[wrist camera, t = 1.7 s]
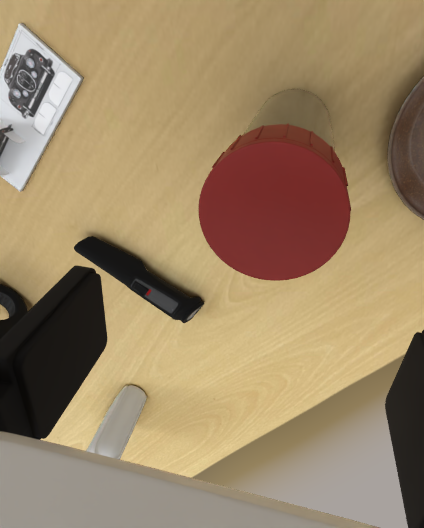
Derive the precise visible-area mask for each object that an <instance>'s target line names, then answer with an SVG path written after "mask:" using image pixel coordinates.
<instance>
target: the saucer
mask: <svg viewBox="0 0 424 528" xmlns="http://www.w3.org/2000/svg"><path fill="white" fill-rule="evenodd" d="M388 169H389V174H390V178H391V181H392V184H393V186H394V189H395V191H396V193H397V194H398V196H399V197H400V199H401V200H402V202H403V203H404V204H405V205H406V206H407V207H408V208H409V209H410V210H411V211H412V212H413V213H415V214H416V215H417V216H419V217H420V218H422V219H423V220H424V76H423V78H422V79H421V80H420V81H419V82H418V83H417V84H416V86H415V87H414V88H413V90H412V91H411V92H410V94H409V95H408V97H407V98H406V100H405V101H404V103H403V105H402V107H401V108H400V110H399V112H398V115H397V117H396V119H395V122H394V124H393V127H392V131H391V134H390V139H389V145H388Z"/></svg>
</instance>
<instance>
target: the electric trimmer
mask: <svg viewBox="0 0 424 528" xmlns="http://www.w3.org/2000/svg"><path fill="white" fill-rule="evenodd" d="M74 250H75V251H76V252H78V253H79V254H81V255H82V256H84V257H85V258H87V259H88V260H90V261H91V262H93V263H94V264H95V265H97V266H98V267H100V268H101V269H103V270H104V271H106V272H107V273H109V274H110V275H112V276H113V277H115V278H116V279H118V280H119V281H121V282H122V283H123V284H125V285H126V286H127V287H128V288H130V289H131V290H132V291H134V292H135V293H137V294H138V295H139V296H141V297H142V298H144V299H145V300H147V301H148V302H150V303H151V304H152V305H154V306H155V307H157V308H158V309H160V310H161V311H163V312H164V313H166V314H167V315H169V316H170V317H172V318H173V319H175V320H181V321H182V322H183V323H186V322H188V321H189V320H191V319H192V318H193V317H194V315H195V314H196V313H197V312H198V311H199V309H200V308H201V307H202V306H203V305H204V303H203V302H202V301H201V298H200V297H193V298H190V297H189V296H187V295H185V294H184V293H182V292H181V291H179V290H178V289H176V288H174V287H173V286H171V285H170V284H168V283H166V282H165V281H163V280H162V279H160V278H158V277H157V276H155V275H154V274H152V273H151V272H149V271H147V270H146V268H145V266H144V264H143V262H142V261H141V260H139V259H137V258H135V257H133V256H131V255H129V254H128V253H126V252H124V251H122V250H120V249H118V248H116V247H114V246H112V245H110V244H108V243H106V242H104V241H102V240H100V239H98V238H96V237H93V236H92V237H88V238H86V239H84V240H82V241H80V242H78V243H77V244H76V245H75V247H74Z"/></svg>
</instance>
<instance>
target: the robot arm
mask: <svg viewBox="0 0 424 528" xmlns="http://www.w3.org/2000/svg"><path fill="white" fill-rule="evenodd" d="M106 344H107V331H106V322H105V313H104V304H103V294H102V285H101V277H100V275H99V274H96V271H95V269H93V268H88V267H82V266H74V267H73V268H72V269H71V270H70V271H69V272H68V273H67V274H66V275H65V276H64V277H63V278H62V279H61V280H60V281H59V282H58V283H57V284H56V285H55V286H54V287H53V288H52V289H51V290H49V291H48V292H47V293H46V294H45V295H44V296H43V297H42V298H41V299H40V300H39V301H38V302H37V303H36V304H35V305H34V306H33V307H32V308H31V309H30V310H29V311H28V312H27V313H26V314H25V315H24V316H23V317H22V318H21V319H20V320H19V321H18V322H17V323H16V324H15V325H14V326H13V327H12V328H11V329H10V330H9V331H8V332H7V333H6V334H5V335H4V336H3V337H2V338H1V339H0V528H379V527H375V526H372V525H368V524H365V523H361V522H357V521H354V520H350V519H346V518H342V517H339V516H335V515H331V514H327V513H323V512H320V511H316V510H312V509H308V508H305V507H301V506H297V505H293V504H289V503H286V502H282V501H278V500H274V499H271V498H267V497H263V496H259V495H255V494H251V493H248V492H244V491H240V490H236V489H232V488H228V487H224V486H221V485H217V484H213V483H209V482H205V481H201V480H197V479H194V478H190V477H186V476H182V475H178V474H174V473H170V472H166V471H163V470H159V469H155V468H151V467H147V466H143V465H139V464H135V463H131V462H127V461H123V460H119V459H115V458H111V457H107V456H103V455H99V454H96V453H92V452H88V451H84V450H80V449H76V448H72V447H68V446H64V445H60V444H55V443H51V442H47V441H43V440H40V439H41V438H43V439H44V438H46V437H47V436H48V435H49V434H50V432H51V431H52V429H53V428H54V426H55V424H56V423H57V421H58V420H59V418H60V417H61V415H62V414H63V412H64V411H65V409H66V408H67V406H68V405H69V403H70V401H71V400H72V398H73V397H74V395H75V394H76V392H77V391H78V389H79V388H80V386H81V385H82V383H83V381H84V380H85V378H86V377H87V375H88V374H89V372H90V371H91V369H92V368H93V366H94V365H95V363H96V361H97V360H98V358H99V357H100V355H101V354H102V352H103V351H104V349H105V347H106ZM385 409H386V415H387V420H388V424H389V430H390V435H391V441H392V446H393V451H394V456H395V461H396V467H397V472H398V477H399V482H400V487H401V492H402V497H403V503H404V508H405V513H406V519H407V524H408V528H424V330H423V331H422V333H419V332H417V333H416V334H415V335H414V337H413V339H412V341H411V343H410V346H409V348H408V350H407V352H406V355H405V357H404V359H403V361H402V364H401V366H400V368H399V370H398V373H397V375H396V377H395V379H394V381H393V384H392V386H391V388H390V390H389V393H388V395H387V398H386V404H385Z"/></svg>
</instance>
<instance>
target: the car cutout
mask: <svg viewBox="0 0 424 528" xmlns="http://www.w3.org/2000/svg"><path fill="white" fill-rule="evenodd" d="M83 79H84V78H83V77H82V76H81V75H80V74H79V73H78V72H76V71H75V70H74V69H73V68H72V67H71V66H70V65H69V64H67V63H66V62H65V61H64V60H63V59H62V58H61V57H60V56H59V55H57V54H56V53H55V52H54V51H53V50H52V49H51V48H50V47H49V46H47V45H46V44H45V43H44V42H43V41H42V40H41V39H40V38H38V37H37V36H36V35H35V34H34V33H33V32H32V31H31V30H30V29H28V28H27V27H26V26H25V25H24V24H23V23H19V25H18V28H17V30H16V33H15V35H14V38H13V40H12V43H11V45H10V48H9V50H8V52H7V55H6V57H5V60H4V62H3V65H2V67H1V70H0V176H1V177H2V178H4V179H5V180H6V181H7V182H9V183H10V184H11V185H12V186H14V187H15V188H16V189H17V190H19V191H20V192H21V191H23V189H24V188H25V186H26V184H27V182H28V180H29V178H30V177H31V175H32V173H33V171H34V169H35V167H36V166H37V164H38V162H39V160H40V158H41V156H42V155H43V153H44V151H45V149H46V147H47V145H48V143H49V142H50V140H51V138H52V136H53V134H54V132H55V131H56V129H57V127H58V125H59V123H60V121H61V120H62V118H63V116H64V114H65V112H66V110H67V109H68V107H69V105H70V103H71V101H72V99H73V98H74V96H75V94H76V92H77V90H78V88H79V87H80V85H81V83H82V81H83Z"/></svg>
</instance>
